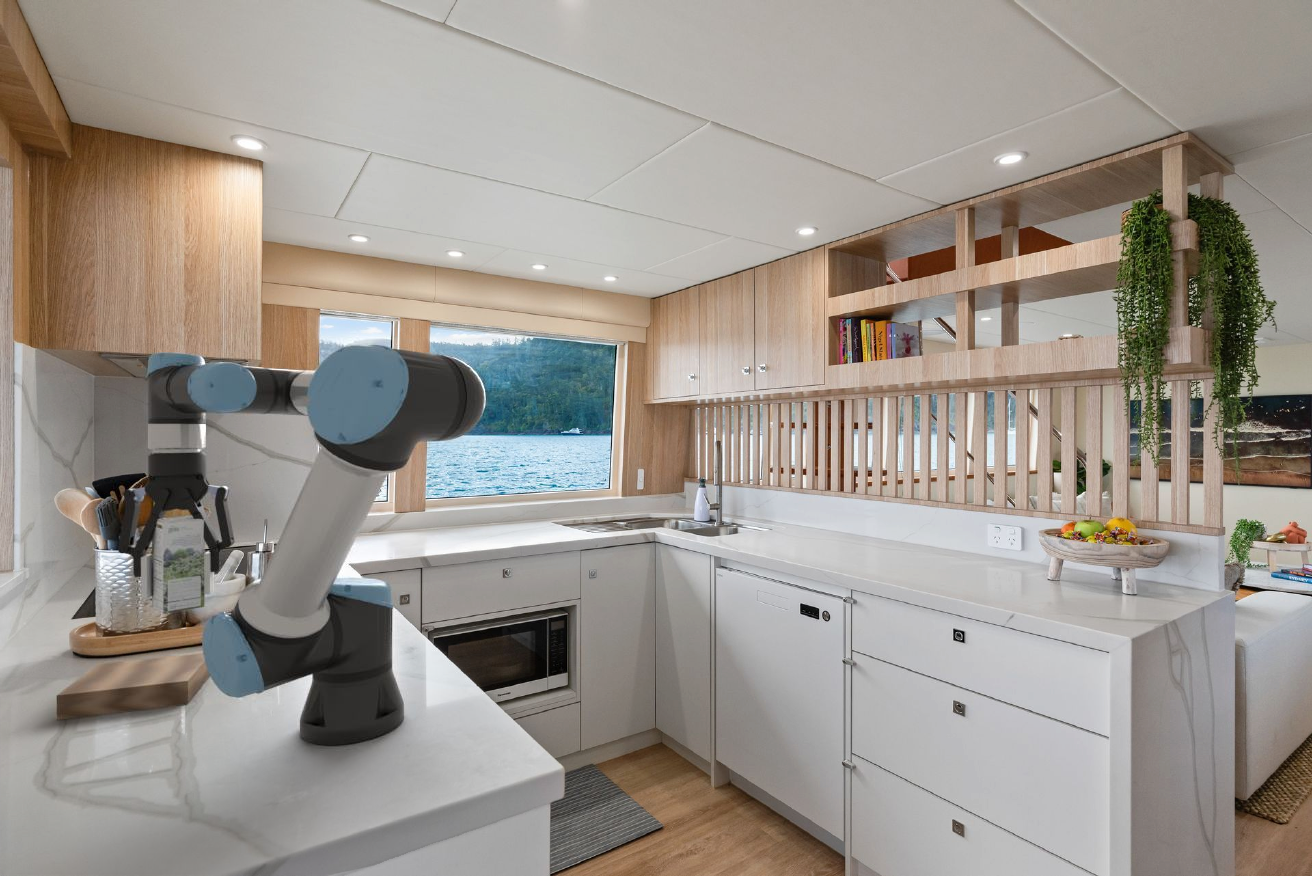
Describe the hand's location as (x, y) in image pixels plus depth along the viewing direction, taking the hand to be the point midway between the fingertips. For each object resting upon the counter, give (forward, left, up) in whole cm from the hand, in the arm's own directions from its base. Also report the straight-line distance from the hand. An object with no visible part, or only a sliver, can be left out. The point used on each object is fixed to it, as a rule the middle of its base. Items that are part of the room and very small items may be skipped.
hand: (178, 594), depth 107 cm
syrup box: (0, 0, -2) cm, 2 cm away
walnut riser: (+10, -17, -21) cm, 29 cm away
